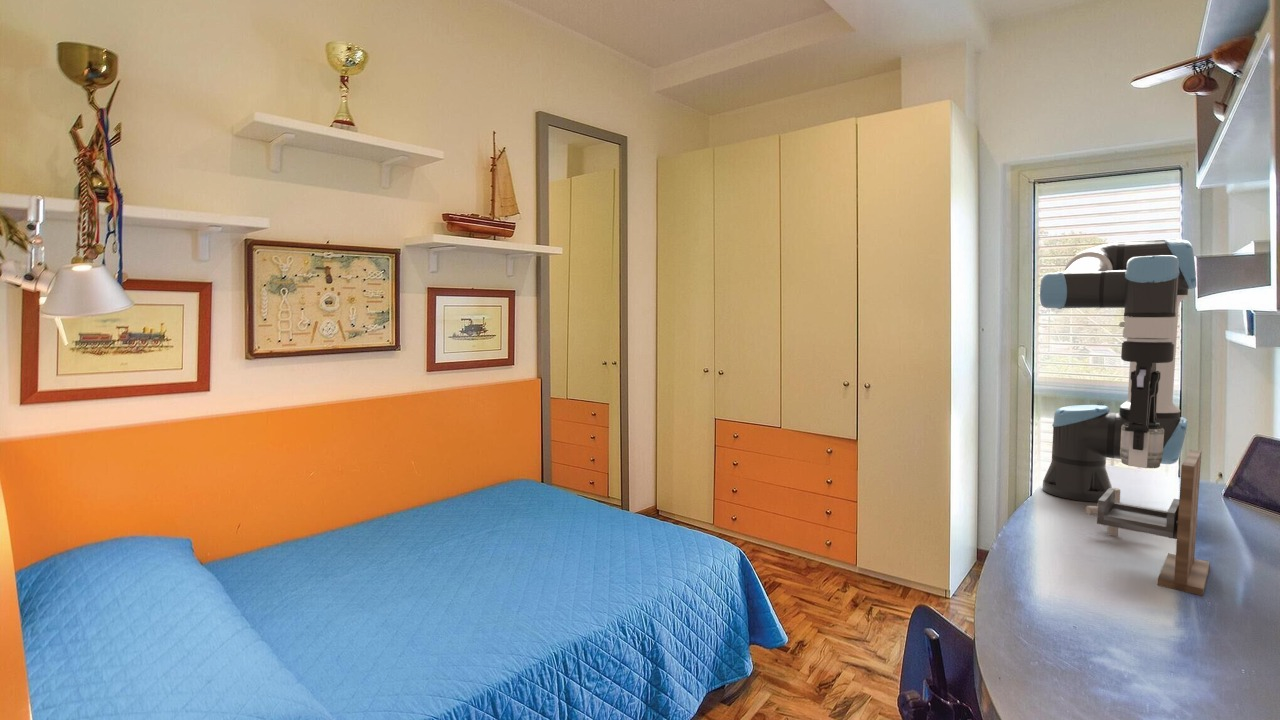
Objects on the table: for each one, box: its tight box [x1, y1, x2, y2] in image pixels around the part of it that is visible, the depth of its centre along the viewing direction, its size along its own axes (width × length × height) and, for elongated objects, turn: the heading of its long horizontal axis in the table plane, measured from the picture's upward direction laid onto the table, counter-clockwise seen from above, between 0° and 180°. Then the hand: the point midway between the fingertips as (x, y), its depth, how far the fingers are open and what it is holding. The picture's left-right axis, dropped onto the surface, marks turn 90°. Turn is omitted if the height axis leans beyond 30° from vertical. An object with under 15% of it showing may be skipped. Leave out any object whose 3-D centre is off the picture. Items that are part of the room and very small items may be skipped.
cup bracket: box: [1096, 449, 1211, 596], centre depth 117 cm, size 16×16×22 cm
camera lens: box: [1120, 423, 1164, 469], centre depth 118 cm, size 6×6×8 cm
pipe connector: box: [1085, 487, 1121, 537], centre depth 135 cm, size 10×10×10 cm
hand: (1140, 463), depth 118 cm, fingers closed on camera lens, 6 cm apart
